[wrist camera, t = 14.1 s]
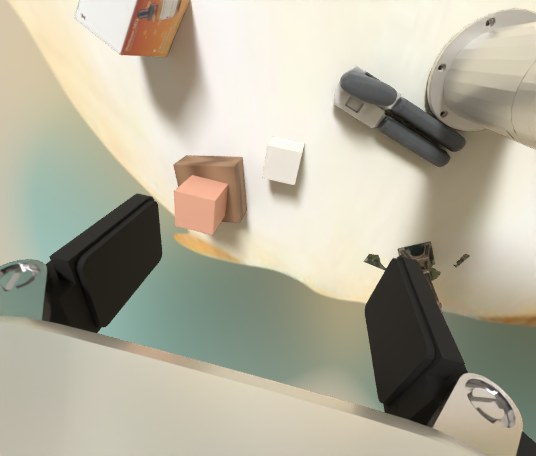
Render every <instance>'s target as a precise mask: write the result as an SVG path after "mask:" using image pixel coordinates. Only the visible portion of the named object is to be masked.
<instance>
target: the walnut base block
mask: <svg viewBox="0 0 536 456" xmlns="http://www.w3.org/2000/svg"><path fill="white" fill-rule="evenodd" d="M174 170H175V174H176V178H177V183H178V187H179V186H180V185H181V184H182V183H184V182H185V181H186V180H187V179H188V178H189V177H190V176H192V175H194V176H198V177H202V178H206V179H210V180H214V181H218V182H222V183H226V184H228V192H227V202H226V212H225V217H224V218H223V220H222V221H221V222H234V223H240V222H241V220H242V218H243V216H244V214H245V212H246V210H247V207H246V195H245V183H244V171H243V159H242V157H223V156H187V155H186V156H185V157H183V158H182V159H181V160H179V161H178V162H176V163H175V164H174Z"/></svg>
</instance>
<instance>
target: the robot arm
mask: <svg viewBox="0 0 536 456" xmlns="http://www.w3.org/2000/svg"><path fill="white" fill-rule="evenodd" d="M487 21H489V24H488V25H487V26H486V22H487ZM440 65H441V66H442V67H441V69H440V70H438V67H439V66H440ZM427 99H428V104H429V107H430V110H431V111H432V113H433V115H434V116H435V117H436V118H437V119H438V120H439V121H440V122H441V123H443V124H444V125H446V126H448V127H450V128H452V129H455V130H460V131H478V130H484V129H489V130H491V131H494V132H496V133H498V134H501V135H503V136H505V137H507V138H510V139H512V140H514V141H517V142H519V143H521V144H523V145H526V146H528V147H530V148H533V149H535V150H536V12H533V11H530V10H526V9H508V10H502V11H498V12H494V13H491V14H488V15H486V16H484V17H481V18H479V19H477V20H475V21H474V22H472V23H471V24H469V25H468V26H466V27H465V28H463V29H462V30H461V31H460V32H459V33H457V34H456V35H455V36H454V37H453V38H452V39H451V40H450V41H449V43H448V44H447V45H446V46H445V47H444V49H443V50H442V52H441V53H440V54H439V56H438V57H437V59H436V61H435V63H434V65H433V67H432V70H431V73H430V76H429V79H428V86H427ZM442 111H443V114H442V115H440V113H441V112H442ZM161 257H162V245H161V234H160V223H159V212H158V204H157V202H155V201H154V199H153V197H150V196H146V195H142V194H136V195H134V196H133V197H131V198H130V199H128V200H127V201H126V202H124V203H123V204H122V205H120V206H119V207H117V208H116V209H114V210H113V211H112V212H110V213H109V214H108V215H106V216H105V217H103V218H102V219H101V220H99V221H98V222H96V223H95V224H94V225H92V226H91V227H90V228H88V229H87V230H85V231H84V232H83V233H81V234H80V235H79V236H77V237H76V238H74V239H73V240H72V241H70V242H69V243H68V244H66V245H65V246H63V247H62V248H61V249H59V250H58V251H56V252H55V253H54V254H52V255H51V256H50V259H51V261H50V262H48V263H47V264H46V265H45V264H44V263H43V262H41V261H39V260H32V259H25V260H17V261H13V262H9V263H7V264H4V265H2V266H0V456H536V443H535V442H534V441H533V440H532V439H531V438H529V437H528V436H527V435H526V434H525V433H524V432H523V431H522V430H523V420H522V417H521V415H520V412H519V410H518V409H517V407H516V406H515V404H514V402H513V401H512V400H511V398H510V397H509V396H508V395H507V394H506V393H505V392H504V391H503V390H502V389H501V388H500V387H499V386H498V385H496V384H495V383H493V382H492V381H490V380H489V379H487V378H485V377H483V376H481V375H479V374H473V373H468V372H467V370H466V368H465V365H464V364H465V363H464V361H463V359H462V356H461V354H460V352H459V350H458V348H457V346H456V344H455V341H454V339H453V337H452V335H451V332H450V330H449V328H448V326H447V324H446V322H445V319H444V317H443V315H442V313H441V311H440V308H439V306H438V304H437V302H436V300H435V297H434V295H433V293H432V291H431V289H430V287H429V284H428V282H427V280H426V278H425V276H424V274H423V271H422V269H421V267H420V265H419V263H418V261H417V260H416V259H412V258H408V257H404V256H399V257H397V259H396V258H393V259H392V260H391V262H390V263H389V265H388V267H387V269H386V270H385V272H384V274H383V276H382V277H381V279H380V281H379V283H378V284H377V286H376V288H375V290H374V291H373V293H372V295H371V297H370V298H369V300H368V302H367V304H366V306H365V317H366V324H367V330H368V336H369V343H370V349H371V355H372V362H373V368H374V374H375V381H376V387H377V393H378V399H379V401H380V402H381V403H383V404H384V410H385V413H384V412H381V411H377V410H374V409H371V408H367V407H364V406H361V405H357V404H354V403H351V402H346V401H343V400H340V399H336V398H332V397H329V396H325V395H322V394H318V393H314V392H311V391H307V390H304V389H300V388H297V387H293V386H289V385H286V384H282V383H279V382H275V381H272V380H268V379H264V378H261V377H257V376H253V375H250V374H246V373H242V372H239V371H235V370H231V369H228V368H224V367H220V366H217V365H213V364H209V363H206V362H202V361H198V360H195V359H191V358H187V357H184V356H180V355H176V354H172V353H169V352H165V351H161V350H158V349H154V348H150V347H146V346H143V345H139V344H135V343H132V342H128V341H124V340H120V339H117V338H113V337H109V336H105V335H102V334H97V332H98V331H99V330H100V329H101V327H106V326H107V325H108V324H109V323H110V322H111V321H112V319H113V318H114V317H115V316H116V314H117V313H118V312H119V311H120V310H121V308H122V307H123V306H124V305H125V303H126V302H127V301H128V300H129V298H130V297H131V296H132V295H133V293H134V292H135V291H136V290H137V288H138V287H139V286H140V285H141V283H142V282H143V281H144V280H145V279H146V277H147V276H148V275H149V274H150V272H151V271H152V270H153V269H154V268H155V266H156V265H157V264H158V263H159V261H160V259H161Z"/></svg>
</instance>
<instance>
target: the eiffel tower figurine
mask: <svg viewBox="0 0 536 456" xmlns="http://www.w3.org/2000/svg"><path fill="white" fill-rule="evenodd" d="M398 252H399V256H404V257H408V258H412V259H416V260H417V261H418V263H419V265H420V267H421V269H422V271H423V274H424V276H425V278H426V280H427V282H428V284H429V287H430V289H431V291H432V293H433V295H434V297H435V300H436V302H437V304H438V306H439V308H440V309H441V307H442V306H441V303H440V302H439V300H438V297H437V295H436V292H435V290H434V287H433V284H432V280H434V279H436V278H437V277H438V276H439V275H440V272H439V271H437V270H436V269H434V268H431V267H432V266H433V265H434V264H435V262H434V256H433V251H432V246H431V242H426V243H422V244H417V245H413V246H408V247H404V248H399V249H398ZM468 257H469V255H467V254H465V255H463V256H462V257H461V259H460V260H458V261H457V265H454V266H455V267H457V266H459V265H460V264H461V263H462V262H463V261H464V260H466V259H467V258H468ZM364 262H366V263H369V264H371V265H373V266H376V267H378V268H381V269H383V270H386V269H387V268H385V267H384V266H383V265H382V264H381V263H380V258H379V256H378V255H372V254H369V255H368V256H367V258H366V259H365V260H364ZM441 311H442V310H441Z"/></svg>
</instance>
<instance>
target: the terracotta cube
mask: <svg viewBox="0 0 536 456" xmlns="http://www.w3.org/2000/svg"><path fill="white" fill-rule="evenodd" d="M227 192H228V184H226V183H222V182H218V181H214V180H210V179H206V178H202V177H198V176H194V175H192V176H190V177H189V178H188V179H187V180H186V181H185V182H184V183H182V184H181V185H180V186H179V187H178V188H177V189H176V190H174V202H175V225H176V226H179V227H183V228H187V229H191V230H194V231H198V232H202V233H206V234H210V235H213V234H214V232H215V231H216V229H217V228H218V226H219V225H220V223H221V221H222V220H223V218H224V217H225V212H226V202H227Z"/></svg>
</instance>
